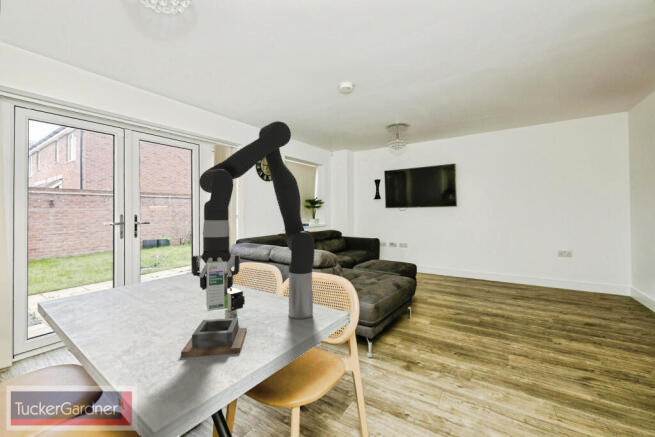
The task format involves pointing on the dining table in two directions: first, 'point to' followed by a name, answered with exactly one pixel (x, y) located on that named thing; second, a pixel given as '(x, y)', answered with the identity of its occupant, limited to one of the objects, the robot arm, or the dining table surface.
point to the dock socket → (215, 338)
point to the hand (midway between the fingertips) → (216, 288)
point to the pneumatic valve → (234, 303)
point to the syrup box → (216, 285)
